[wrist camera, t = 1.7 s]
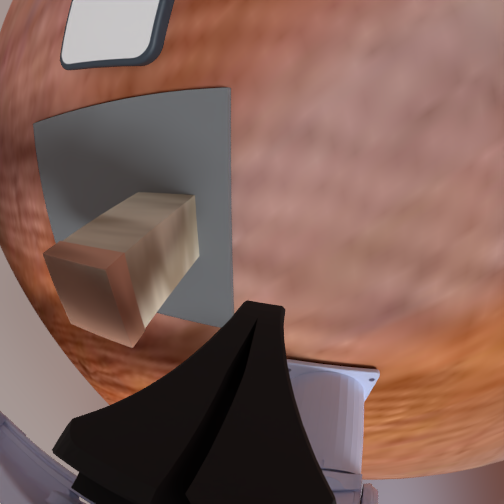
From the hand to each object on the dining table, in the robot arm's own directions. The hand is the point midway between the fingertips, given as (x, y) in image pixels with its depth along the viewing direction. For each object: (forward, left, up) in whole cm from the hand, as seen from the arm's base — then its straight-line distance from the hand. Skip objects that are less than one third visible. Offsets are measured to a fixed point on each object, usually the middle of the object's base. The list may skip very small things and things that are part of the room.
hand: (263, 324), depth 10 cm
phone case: (+18, +10, -8) cm, 23 cm away
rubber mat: (0, +12, -8) cm, 14 cm away
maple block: (0, +7, -7) cm, 10 cm away
